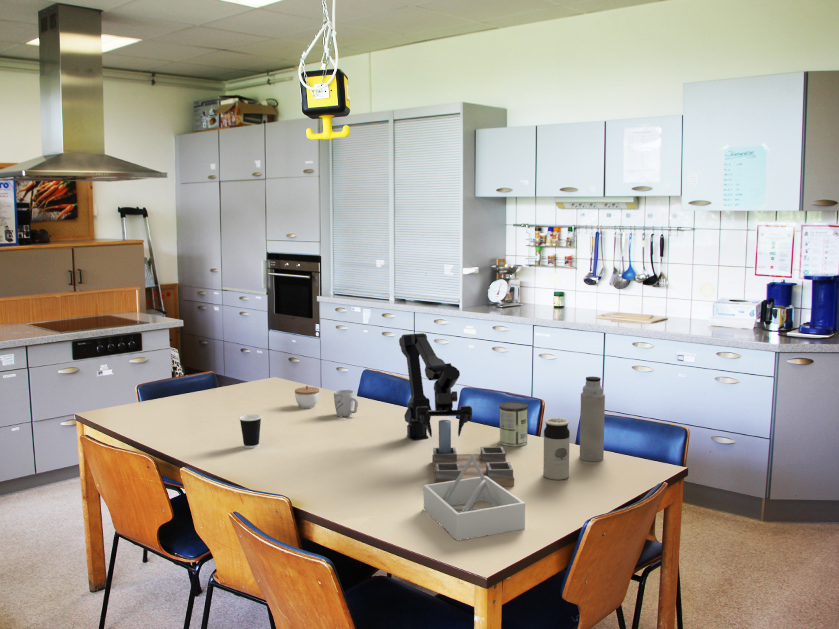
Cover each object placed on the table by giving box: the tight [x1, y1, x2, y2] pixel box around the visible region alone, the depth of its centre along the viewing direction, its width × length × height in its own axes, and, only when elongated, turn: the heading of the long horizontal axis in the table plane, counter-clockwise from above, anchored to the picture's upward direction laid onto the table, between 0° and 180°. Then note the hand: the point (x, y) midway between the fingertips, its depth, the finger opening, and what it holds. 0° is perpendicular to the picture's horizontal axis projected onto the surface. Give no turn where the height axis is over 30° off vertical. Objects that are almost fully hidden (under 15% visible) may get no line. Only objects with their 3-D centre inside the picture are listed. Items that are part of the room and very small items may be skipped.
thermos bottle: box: [579, 376, 606, 462], centre depth 245 cm, size 8×8×28 cm
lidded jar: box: [294, 385, 320, 409], centre depth 320 cm, size 11×11×9 cm
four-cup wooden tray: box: [431, 446, 515, 487], centre depth 232 cm, size 24×24×5 cm
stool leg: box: [438, 419, 452, 454], centre depth 239 cm, size 4×4×12 cm
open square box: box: [423, 476, 526, 541], centre depth 196 cm, size 20×23×7 cm
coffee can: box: [499, 401, 529, 447], centre depth 264 cm, size 10×10×14 cm
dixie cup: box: [238, 414, 262, 449], centre depth 262 cm, size 8×8×11 cm
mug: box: [333, 389, 359, 417], centre depth 304 cm, size 11×8×10 cm
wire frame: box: [444, 455, 499, 512], centre depth 196 cm, size 18×13×16 cm
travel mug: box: [542, 417, 571, 481], centre depth 228 cm, size 8×8×18 cm
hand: (445, 436), depth 237 cm, fingers open, 9 cm apart
